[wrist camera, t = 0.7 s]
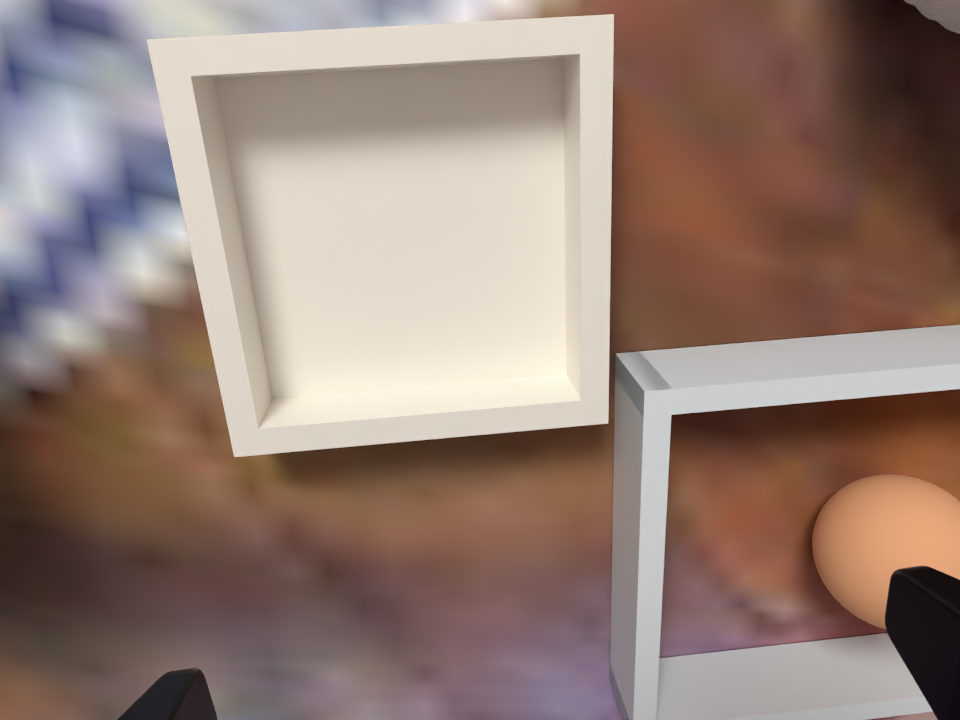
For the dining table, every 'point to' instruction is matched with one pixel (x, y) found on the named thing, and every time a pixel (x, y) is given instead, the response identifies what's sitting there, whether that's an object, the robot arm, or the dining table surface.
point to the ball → (883, 539)
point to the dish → (398, 226)
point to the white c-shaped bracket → (642, 525)
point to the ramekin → (940, 12)
